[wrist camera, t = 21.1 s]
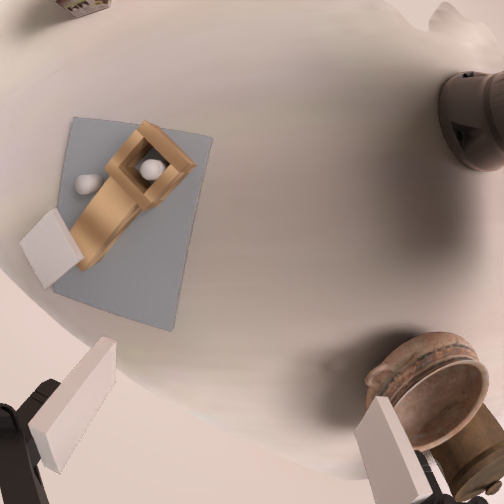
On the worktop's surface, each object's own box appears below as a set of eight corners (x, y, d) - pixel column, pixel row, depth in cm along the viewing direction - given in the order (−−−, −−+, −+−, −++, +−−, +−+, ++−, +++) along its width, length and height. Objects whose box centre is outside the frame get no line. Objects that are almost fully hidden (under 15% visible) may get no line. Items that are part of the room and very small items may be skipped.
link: (158, 126, 34) (144, 120, 30) (197, 164, 35) (187, 163, 31) (74, 231, 38) (53, 239, 33) (106, 267, 39) (89, 279, 34)
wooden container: (413, 449, 49) (446, 524, 28) (443, 398, 45) (494, 477, 24) (461, 439, 49) (498, 502, 28) (490, 391, 46) (541, 453, 24)
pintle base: (73, 118, 35) (36, 109, 27) (212, 138, 36) (199, 128, 28) (53, 286, 42) (20, 307, 33) (173, 326, 42) (156, 360, 34)
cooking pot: (317, 388, 44) (329, 444, 33) (387, 287, 40) (426, 327, 28) (419, 419, 47) (442, 462, 35) (480, 341, 42) (517, 376, 30)
